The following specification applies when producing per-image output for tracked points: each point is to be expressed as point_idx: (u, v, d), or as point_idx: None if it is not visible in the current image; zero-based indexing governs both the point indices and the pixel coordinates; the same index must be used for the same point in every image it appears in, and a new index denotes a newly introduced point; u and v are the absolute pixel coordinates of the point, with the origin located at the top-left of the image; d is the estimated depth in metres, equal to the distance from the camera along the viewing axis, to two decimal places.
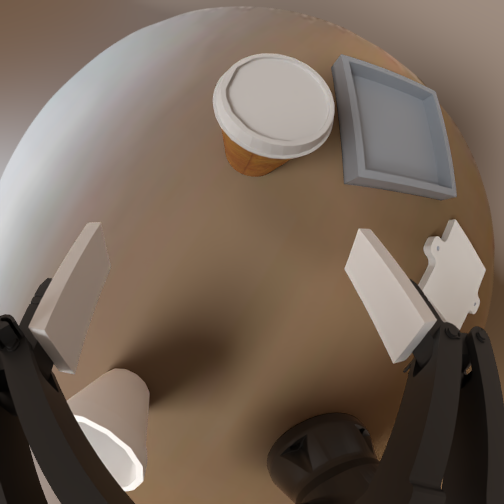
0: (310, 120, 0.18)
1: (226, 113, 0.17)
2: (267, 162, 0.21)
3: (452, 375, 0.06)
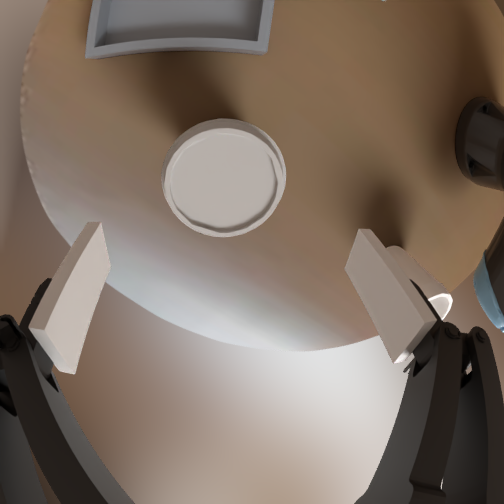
0: (251, 156, 0.18)
1: (247, 231, 0.21)
2: None
3: (452, 375, 0.06)
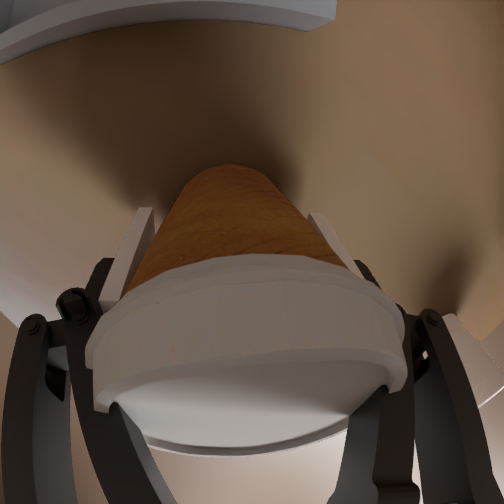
0: (340, 377, 0.05)
1: (295, 447, 0.09)
2: None
3: None
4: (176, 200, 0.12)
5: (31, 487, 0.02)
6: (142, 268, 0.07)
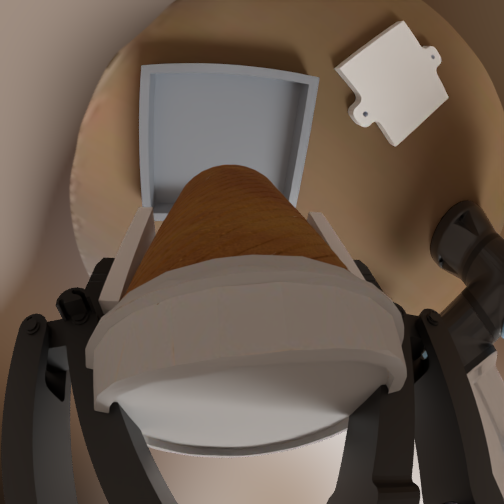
0: (340, 378, 0.05)
1: (295, 447, 0.09)
2: None
3: None
4: (176, 200, 0.12)
5: (31, 487, 0.02)
6: (142, 269, 0.07)
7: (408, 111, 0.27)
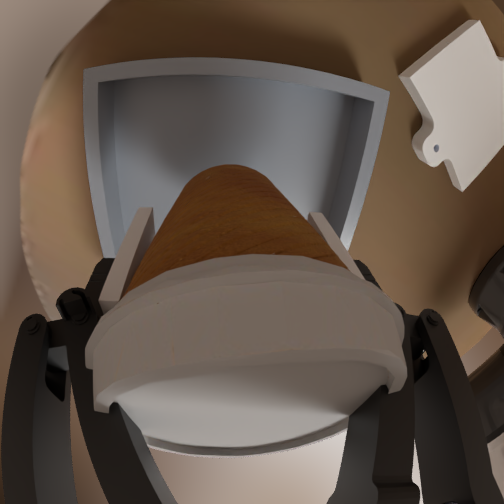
0: (341, 378, 0.05)
1: (295, 447, 0.09)
2: None
3: None
4: (176, 200, 0.12)
5: (31, 487, 0.02)
6: (142, 268, 0.07)
7: (481, 144, 0.17)
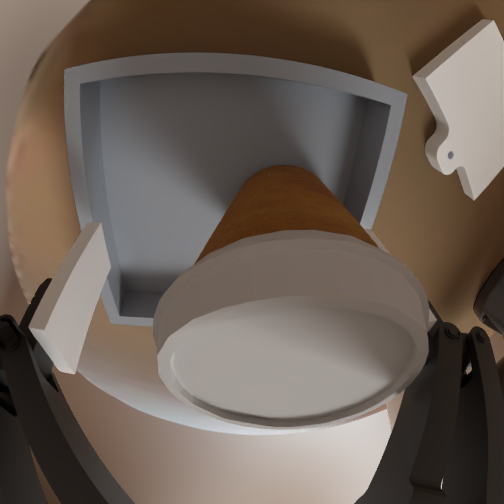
0: (373, 342, 0.07)
1: (323, 424, 0.10)
2: None
3: (452, 375, 0.06)
4: (239, 192, 0.14)
5: (3, 500, 0.02)
6: (215, 241, 0.09)
7: (494, 151, 0.15)
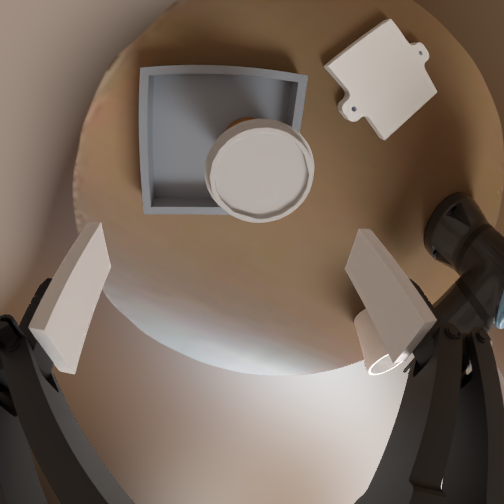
0: (286, 152, 0.21)
1: (281, 217, 0.24)
2: None
3: (452, 375, 0.06)
4: (227, 128, 0.27)
5: (3, 500, 0.02)
6: None
7: (396, 106, 0.29)
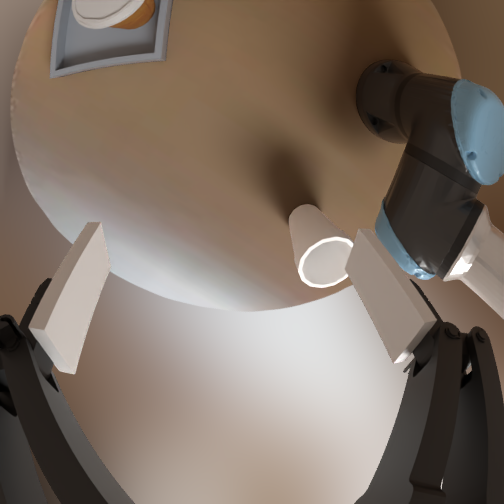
0: None
1: (119, 14, 0.16)
2: None
3: (452, 375, 0.06)
4: None
5: (3, 500, 0.02)
6: None
7: None
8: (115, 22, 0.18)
